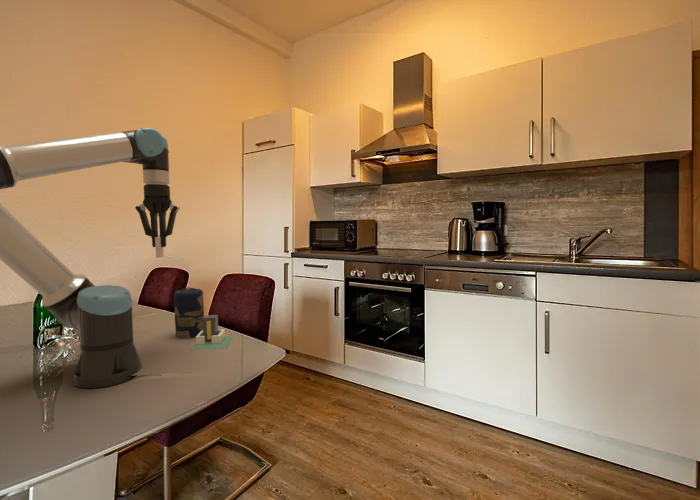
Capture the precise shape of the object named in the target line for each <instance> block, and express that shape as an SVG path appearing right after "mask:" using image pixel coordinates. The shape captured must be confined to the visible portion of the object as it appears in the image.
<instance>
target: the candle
mask: <svg viewBox="0 0 700 500" xmlns="http://www.w3.org/2000/svg"><path fill="white" fill-rule="evenodd" d="M173 301H174V303H173V304H174V305H173V306H174V324H175V325H174V326H175V337H176V338H177V339H194V338H196V336H197V335H198V334H199V333H200V332H201V331H202V330H203V322H202V318H203V317H204V316H205V305H204V292H203V290H202V289H200V288H194V287H189V286H188V287H184V288H182V289H179V290H176V291H175V292H174V294H173Z"/></svg>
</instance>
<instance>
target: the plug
mask: <svg viewBox="0 0 700 500" xmlns="http://www.w3.org/2000/svg"><path fill="white" fill-rule="evenodd" d="M202 322H203V336H205V342H212V338H211V336H213V335H218V330H219V315H218V314H207V315H206V314H204V317H203V318H202Z"/></svg>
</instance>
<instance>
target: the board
mask: <svg viewBox="0 0 700 500" xmlns="http://www.w3.org/2000/svg"><path fill="white" fill-rule="evenodd" d="M234 338H235V335H225V337H224V339H223V340H222V342H221V343H218V344H212V342H208V343H205V344H198V345H196V343H195V345H194V346H192V348H191V349H190V351H199V350H201V351H202V350H203V351H204V350H219V349H228V348H229V346H230V345H231V342H233V340H234Z"/></svg>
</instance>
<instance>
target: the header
mask: <svg viewBox="0 0 700 500" xmlns="http://www.w3.org/2000/svg"><path fill="white" fill-rule="evenodd" d="M225 330H226V329H225V328H223V329H218V335H213V336H211V338H212V344H218V343H221V342H222V340H223V339H224V337H225V336H226V331H225ZM205 343H208V342H205V336H203V330H202V331H201V332H200V333H199V334H198V335H197V336H196V337H195V344H196V345H198V344H205Z"/></svg>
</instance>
